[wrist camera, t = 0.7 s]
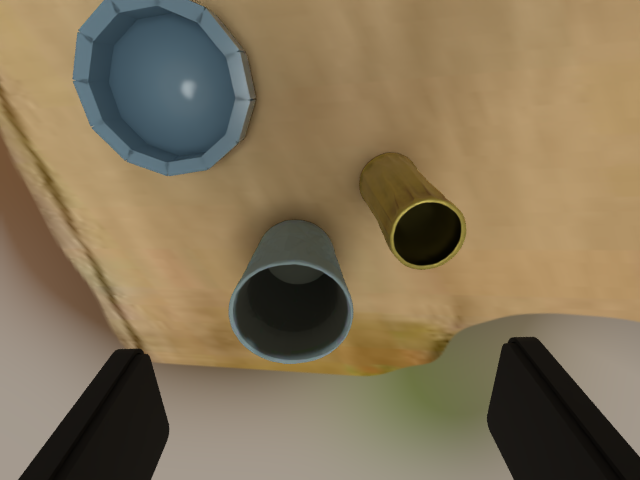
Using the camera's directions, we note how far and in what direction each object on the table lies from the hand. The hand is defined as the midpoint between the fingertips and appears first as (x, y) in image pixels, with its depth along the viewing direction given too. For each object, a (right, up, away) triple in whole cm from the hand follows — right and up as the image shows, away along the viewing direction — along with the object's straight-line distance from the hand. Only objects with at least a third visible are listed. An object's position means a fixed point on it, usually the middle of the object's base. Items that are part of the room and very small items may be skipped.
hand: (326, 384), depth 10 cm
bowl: (-13, +18, +24) cm, 33 cm away
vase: (+7, +10, +28) cm, 30 cm away
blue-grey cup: (-3, +3, +31) cm, 31 cm away
